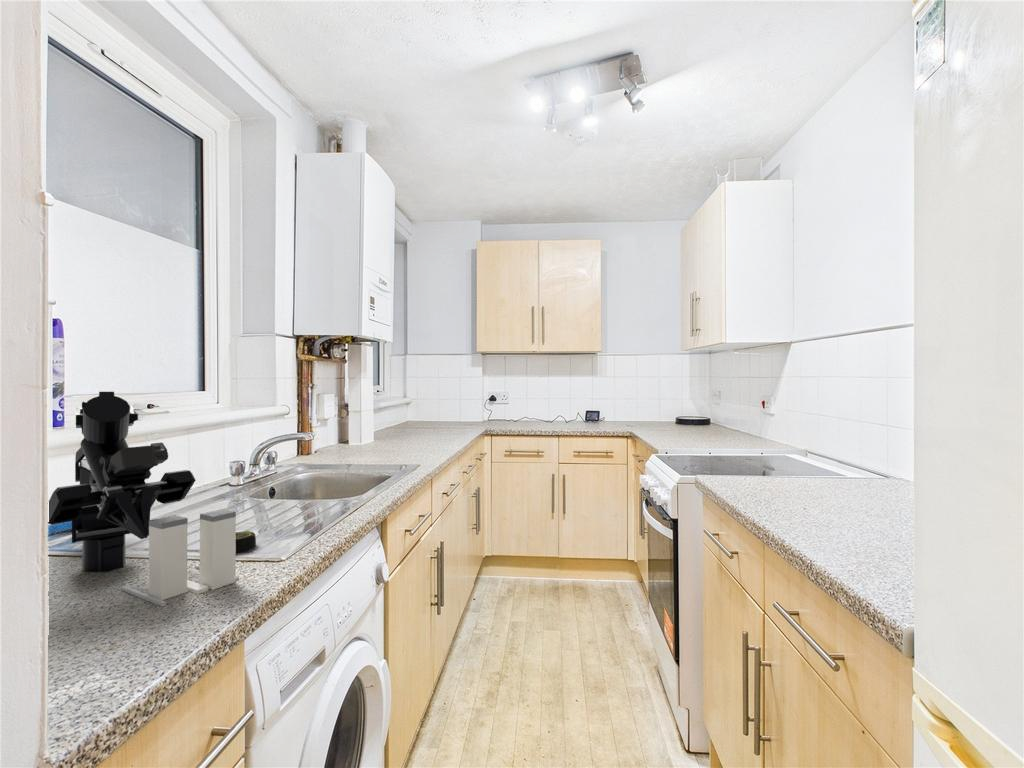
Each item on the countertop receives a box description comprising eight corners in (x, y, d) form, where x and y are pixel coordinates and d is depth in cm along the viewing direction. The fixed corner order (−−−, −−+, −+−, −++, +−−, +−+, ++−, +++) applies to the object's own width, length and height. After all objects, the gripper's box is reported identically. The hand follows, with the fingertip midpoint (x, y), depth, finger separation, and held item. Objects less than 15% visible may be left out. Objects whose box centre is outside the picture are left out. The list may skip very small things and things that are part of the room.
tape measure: (232, 548, 98) (232, 529, 98) (263, 549, 97) (263, 530, 97) (205, 560, 91) (205, 539, 91) (238, 562, 90) (238, 541, 90)
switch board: (116, 594, 75) (116, 584, 75) (192, 571, 85) (192, 562, 85) (164, 614, 69) (165, 603, 69) (241, 586, 78) (241, 577, 78)
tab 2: (199, 585, 76) (199, 513, 76) (222, 577, 79) (222, 509, 79) (212, 589, 74) (213, 516, 75) (235, 581, 78) (235, 511, 78)
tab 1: (148, 595, 72) (148, 520, 72) (174, 587, 75) (174, 515, 76) (161, 600, 71) (161, 523, 71) (187, 591, 74) (187, 518, 74)
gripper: (53, 432, 71) (88, 518, 66) (190, 424, 88) (227, 492, 82) (30, 482, 75) (62, 567, 70) (165, 465, 91) (199, 533, 86)
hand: (145, 536), depth 77 cm, fingers closed
